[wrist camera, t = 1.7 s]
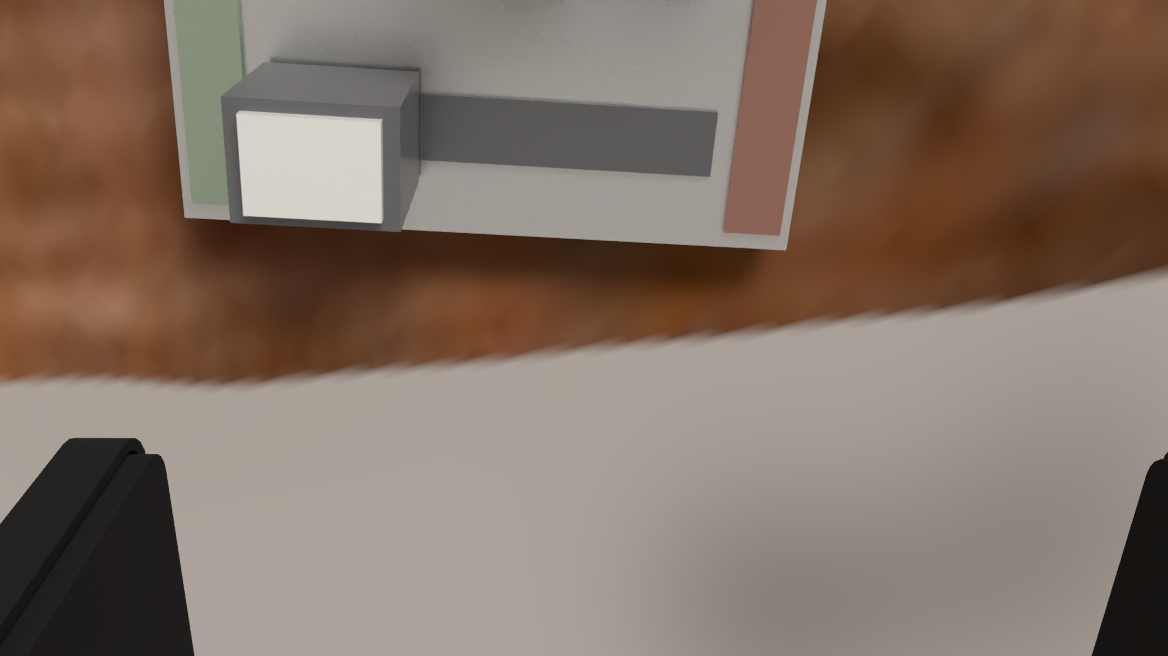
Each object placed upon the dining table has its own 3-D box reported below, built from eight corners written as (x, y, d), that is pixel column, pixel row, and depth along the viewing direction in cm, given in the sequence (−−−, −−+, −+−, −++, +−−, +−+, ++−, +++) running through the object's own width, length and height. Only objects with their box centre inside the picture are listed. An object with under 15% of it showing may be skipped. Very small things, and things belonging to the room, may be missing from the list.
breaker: (263, 62, 27) (217, 98, 23) (419, 71, 27) (398, 110, 23) (270, 173, 28) (226, 227, 24) (418, 182, 29) (399, 236, 25)
